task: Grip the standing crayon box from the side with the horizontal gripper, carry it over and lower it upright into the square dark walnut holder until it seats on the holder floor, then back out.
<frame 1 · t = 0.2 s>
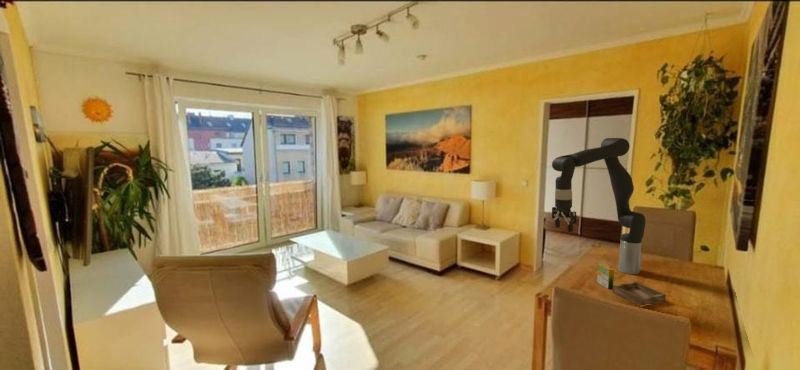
hand: (563, 229, 163), 28 cm above the table, tool pointing down, fingers open, 8 cm apart
crayon box: (604, 285, 163), on the table
walnut holder: (637, 297, 151), on the table
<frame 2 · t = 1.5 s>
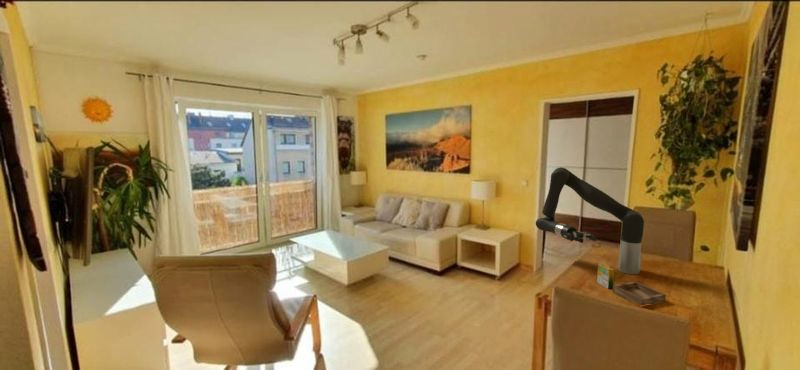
hand: (589, 240, 170), 20 cm above the table, tool horizontal, fingers open, 8 cm apart
nothing on the table moved.
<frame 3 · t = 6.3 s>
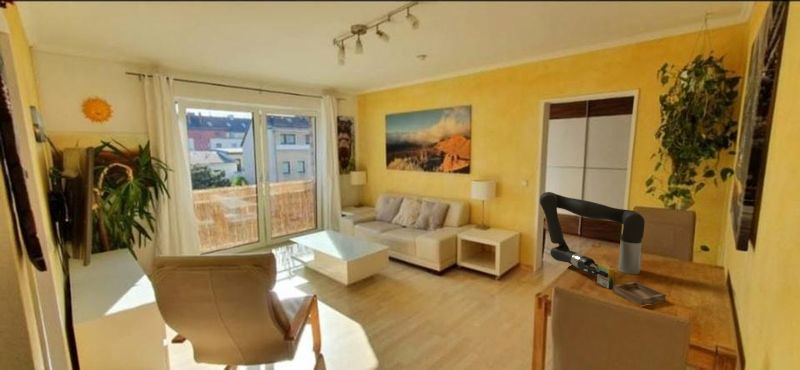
hand: (610, 275, 160), 7 cm above the table, tool horizontal, fingers closed on crayon box, 3 cm apart
crayon box: (604, 285, 163), on the table, touching gripper
when the fingers open (9 cm above the table, at t = 10.9 s): crayon box drops 1 cm, resting on walnut holder.
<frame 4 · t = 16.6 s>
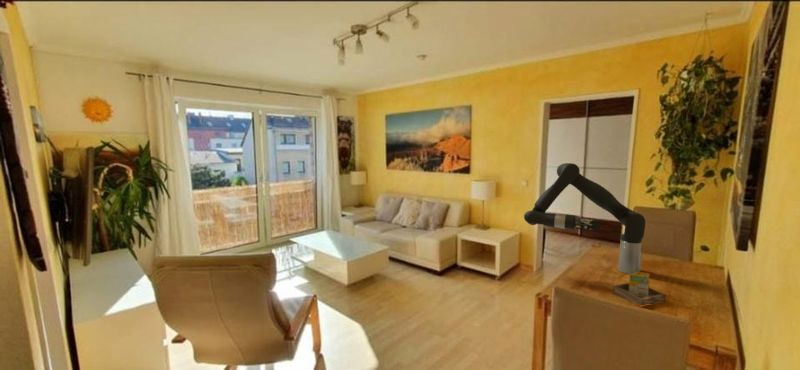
hand: (601, 225, 162), 30 cm above the table, tool horizontal, fingers open, 8 cm apart
crayon box: (637, 295, 151), point 1 cm above the table, touching walnut holder
at the end: crayon box inside the target area on the walnut holder (0.2 cm from its centre), point 0.8 cm above the walnut holder's base; crayon box tilted 0°; the gripper is holding nothing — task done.
